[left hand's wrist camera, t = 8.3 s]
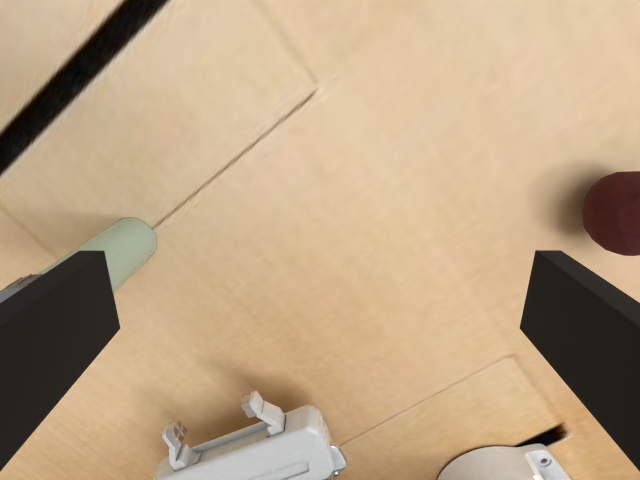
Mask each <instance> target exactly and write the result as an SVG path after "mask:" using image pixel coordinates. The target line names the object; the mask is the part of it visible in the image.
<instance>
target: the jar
mask: <svg viewBox="0 0 640 480" xmlns="http://www.w3.org/2000/svg"><path fill="white" fill-rule="evenodd" d="M156 246H157V240H156V236H155V233H154V231H153V230H152V229H151V227H150V226H149V225H148V224H146V223H145V222H143V221H141V220H139V219H135V218H125V219H121V220H119V221H118V222H116V223H115V224H113V225H112V226H110V227H109V228H107V229H106V230H104V231H103V232H101V233H100V234H98V235H96V236H95V237H93V238H92V239H90V240H89V241H87V242H86V243H84V244H83V245H81V246H80V247H78V248H77V249H75V250H74V251H72V252H71V253H69V254H68V255H66V256H65V257H63V258H61V259H60V260H58V261H57V262H55V263H54V264H52V265H51V266H49V267H48V268H46V269H45V270H43V271H42V272H40V273H39V274H45V273H46V272H48V271H49V270H51V269H52V268H54V267H55V266H57V265H58V264H60V263H61V262H63V261H64V260H66V259H67V258H69V257H70V256H72V255H73V254H75V253H76V252H78V251H105V256H106V261H107V266H108V271H109V276H110V281H111V285H112V290H113V293H114V292H115V291H116V290H117V289H118V288H119V287H120V286H121V285H122V284H123V283H124V282H125V281H126V280H127V279H128V278H129V277H130V276H131V275H132V274H133V273H134V272H135V271H136V270H137V269H138V268H139V267H140V266H141V265H142V264H143V263H144V262H145V261H146V260H147V259H148V258H149V257H150V256H152V254H153V253H154V252H155V250H156Z"/></svg>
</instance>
